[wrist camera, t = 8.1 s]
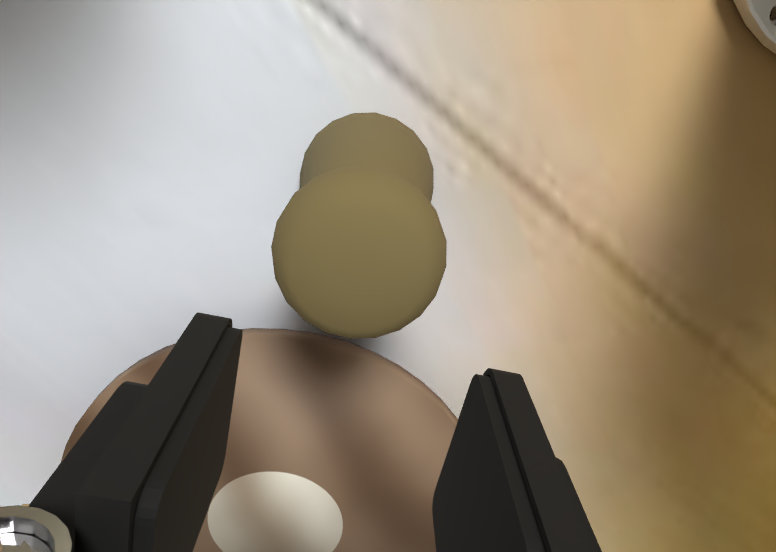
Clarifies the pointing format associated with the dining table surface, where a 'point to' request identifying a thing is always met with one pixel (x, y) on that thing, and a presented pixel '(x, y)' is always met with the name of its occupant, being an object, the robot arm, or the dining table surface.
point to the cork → (361, 230)
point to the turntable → (318, 449)
